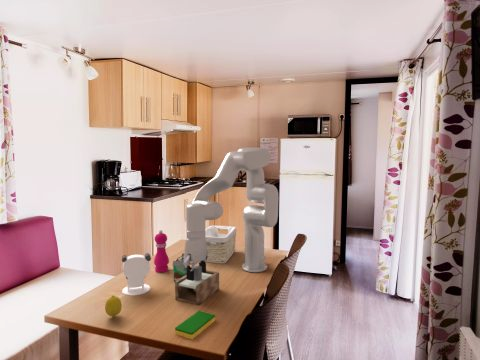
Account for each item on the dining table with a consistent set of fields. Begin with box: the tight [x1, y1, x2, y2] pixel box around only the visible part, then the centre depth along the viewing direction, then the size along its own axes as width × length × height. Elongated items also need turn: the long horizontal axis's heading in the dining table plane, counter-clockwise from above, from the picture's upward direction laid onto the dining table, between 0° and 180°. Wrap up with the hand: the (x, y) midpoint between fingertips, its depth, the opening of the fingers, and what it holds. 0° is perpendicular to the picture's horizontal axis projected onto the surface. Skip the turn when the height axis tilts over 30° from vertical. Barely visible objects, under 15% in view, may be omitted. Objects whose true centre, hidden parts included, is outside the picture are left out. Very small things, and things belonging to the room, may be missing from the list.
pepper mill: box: [153, 230, 170, 273], centre depth 170 cm, size 7×7×20 cm
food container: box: [172, 252, 192, 283], centre depth 160 cm, size 12×6×10 cm, turn 168°
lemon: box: [104, 295, 123, 318], centre depth 124 cm, size 6×6×8 cm
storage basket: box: [205, 225, 237, 264], centre depth 191 cm, size 24×16×15 cm
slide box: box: [174, 269, 220, 306], centre depth 143 cm, size 16×11×8 cm
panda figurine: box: [121, 252, 152, 297], centre depth 148 cm, size 12×11×15 cm
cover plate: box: [179, 264, 212, 289], centre depth 142 cm, size 14×8×6 cm, turn 155°
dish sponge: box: [174, 310, 216, 340], centre depth 118 cm, size 7×14×2 cm, turn 152°
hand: (196, 275), depth 142 cm, fingers open, 8 cm apart
